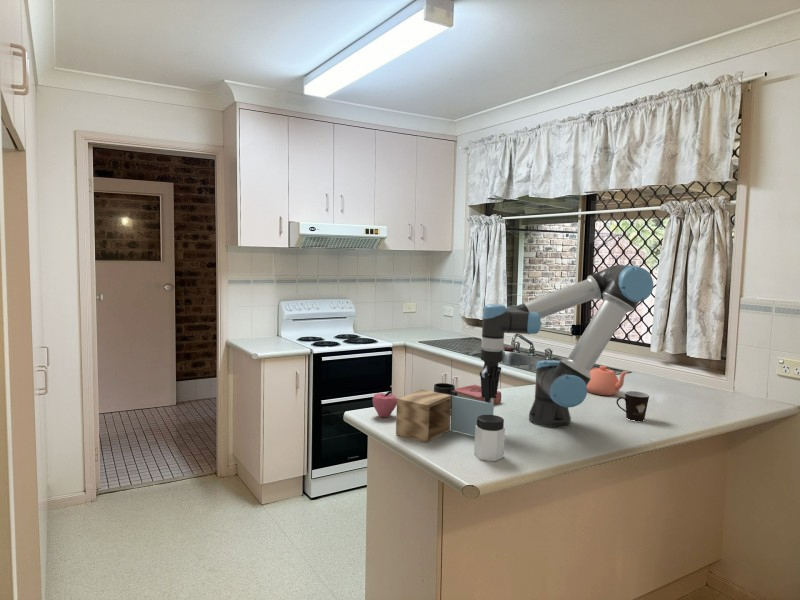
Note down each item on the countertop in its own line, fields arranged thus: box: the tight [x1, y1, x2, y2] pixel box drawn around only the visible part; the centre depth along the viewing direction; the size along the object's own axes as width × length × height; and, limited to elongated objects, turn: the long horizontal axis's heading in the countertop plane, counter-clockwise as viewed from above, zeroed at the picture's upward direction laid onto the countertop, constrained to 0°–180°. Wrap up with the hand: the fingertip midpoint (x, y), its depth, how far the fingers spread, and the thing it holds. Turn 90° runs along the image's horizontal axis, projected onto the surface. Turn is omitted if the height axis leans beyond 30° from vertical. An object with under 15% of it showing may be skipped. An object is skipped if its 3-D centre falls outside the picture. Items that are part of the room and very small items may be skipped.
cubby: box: [395, 389, 451, 444], centre depth 192 cm, size 12×16×12 cm
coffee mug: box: [616, 390, 650, 422], centre depth 216 cm, size 12×9×10 cm
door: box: [449, 395, 495, 437], centre depth 190 cm, size 1×16×12 cm, turn 57°
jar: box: [473, 414, 506, 462], centre depth 172 cm, size 9×8×12 cm
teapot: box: [587, 365, 629, 396], centre depth 254 cm, size 22×15×12 cm
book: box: [455, 384, 502, 405], centre depth 233 cm, size 14×15×5 cm
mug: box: [433, 382, 457, 403], centre depth 219 cm, size 8×12×10 cm
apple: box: [372, 390, 398, 418], centre depth 208 cm, size 10×9×10 cm
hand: (487, 416), depth 195 cm, fingers closed
